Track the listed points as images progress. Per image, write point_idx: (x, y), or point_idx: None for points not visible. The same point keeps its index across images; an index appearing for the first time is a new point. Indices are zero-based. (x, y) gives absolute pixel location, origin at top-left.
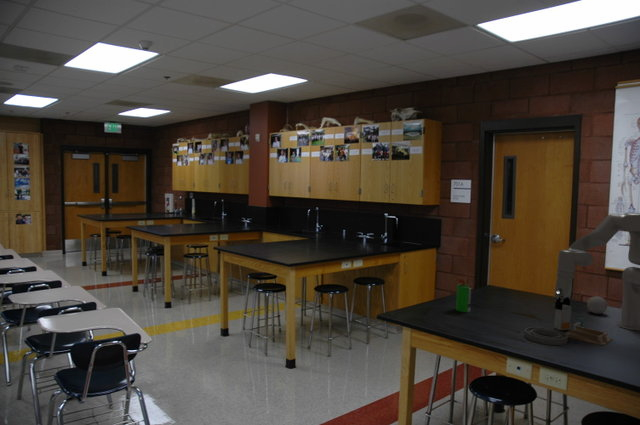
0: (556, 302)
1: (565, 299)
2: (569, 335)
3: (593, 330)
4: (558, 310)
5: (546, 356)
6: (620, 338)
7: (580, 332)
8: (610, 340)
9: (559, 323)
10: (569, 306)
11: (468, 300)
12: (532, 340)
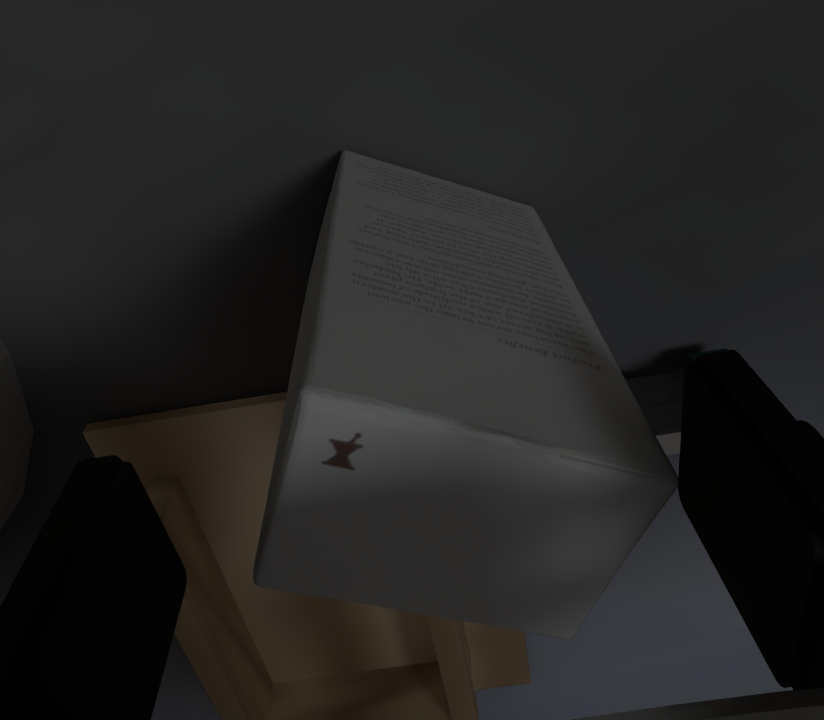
0: (10, 643)
1: (805, 599)
2: (151, 491)
3: (437, 651)
4: (290, 403)
5: None
6: (656, 679)
7: (178, 638)
8: (476, 683)
9: (304, 303)
10: (531, 623)
11: None
12: None
